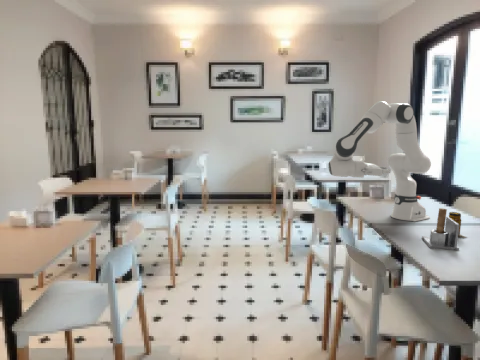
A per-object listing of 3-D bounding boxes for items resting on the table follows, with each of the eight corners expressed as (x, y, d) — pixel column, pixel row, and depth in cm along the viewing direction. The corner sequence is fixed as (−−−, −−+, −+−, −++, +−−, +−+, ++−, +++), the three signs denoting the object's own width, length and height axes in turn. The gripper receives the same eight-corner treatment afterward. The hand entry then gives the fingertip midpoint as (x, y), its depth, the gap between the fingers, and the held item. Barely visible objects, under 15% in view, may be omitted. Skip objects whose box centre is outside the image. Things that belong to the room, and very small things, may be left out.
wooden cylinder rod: (438, 240, 173) (442, 208, 171) (444, 242, 170) (448, 209, 168) (433, 240, 172) (437, 208, 170) (438, 242, 169) (443, 209, 167)
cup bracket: (430, 248, 166) (432, 223, 164) (422, 238, 179) (424, 215, 177) (458, 250, 163) (461, 225, 161) (448, 240, 177) (450, 217, 175)
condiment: (442, 233, 188) (444, 211, 186) (458, 233, 188) (461, 211, 186) (450, 237, 181) (452, 214, 179) (467, 238, 181) (469, 215, 179)
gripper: (363, 165, 178) (392, 166, 175) (358, 161, 198) (384, 161, 195) (362, 178, 179) (391, 179, 176) (357, 172, 199) (383, 173, 196)
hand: (388, 170), depth 186 cm, fingers open, 8 cm apart
